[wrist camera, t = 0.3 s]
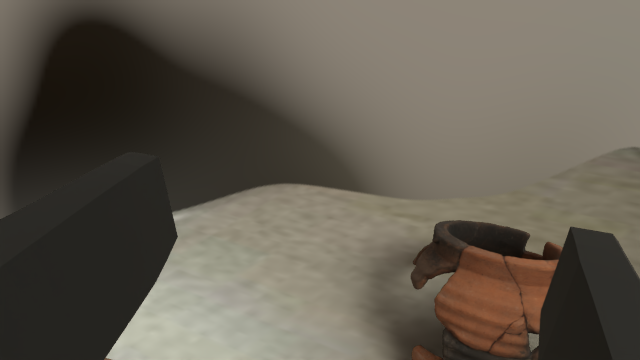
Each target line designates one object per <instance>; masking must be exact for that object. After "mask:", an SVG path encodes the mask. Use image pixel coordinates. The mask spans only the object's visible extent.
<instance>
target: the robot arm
mask: <svg viewBox="0 0 640 360" xmlns="http://www.w3.org/2000/svg"><path fill="white" fill-rule="evenodd" d="M177 237H178V236H177V232H176V227H175V223H174V219H173V215H172V210H171V206H170V202H169V198H168V193H167V189H166V185H165V181H164V176H163V172H162V168H161V164H160V160H159V157H158V156H152V155H146V154H140V153H134V152H128V153H126V154H124V155H122V156H120V157H117V158H115V159H113V160H111V161H110V162H107V163H105V164H104V165H102V166H100V167H98V168H96V169H94V170H92V171H90V172H89V173H87V174H85V175H83V176H81V177H79V178H78V179H76V180H74V181H72V182H70V183H68V184H67V185H65V186H63V187H61V188H59V189H57V190H55V191H53V192H52V193H50V194H48V195H46V196H45V197H42V198H41V199H39V200H37V201H35V202H33V203H31V204H29V205H27V206H26V207H24V208H22V209H20V210H18V211H16V212H14V213H12V214H10V215H8V216H6V217H4V218H2V219H0V360H104V359H105V358H106V356H107V355H108V353H109V352H110V350H111V349H112V347H113V346H114V344H115V343H116V341H117V340H118V338H119V337H120V335H121V334H122V332H123V331H124V329H125V328H126V326H127V325H128V323H129V322H130V321H131V319H132V318H133V316H134V315H135V313H136V312H137V310H138V308H139V307H140V305H141V304H142V302H143V301H144V299H145V298H146V296H147V295H148V293H149V292H150V290H151V289H152V287H153V286H154V284H155V282H156V281H157V279H158V277H159V275H160V273H161V271H162V269H163V267H164V265H165V263H166V261H167V259H168V257H169V254H170V252H171V250H172V248H173V246H174V244H175V241H176V239H177ZM538 360H640V278H639V277H638V275H637V273H636V272H635V270H634V268H633V267H632V265H631V263H630V261H629V260H628V258H627V256H626V254H625V253H624V251H623V249H622V247H621V246H620V244H619V242H618V241H617V239H616V238H615V236H614V235H613V234H611V233H605V232H599V231H593V230H587V229H581V228H575V227H570V230H569V232H568V235H567V238H566V241H565V244H564V246H563V249H562V252H561V255H560V258H559V261H558V263H557V266H556V269H555V272H554V275H553V277H552V280H551V283H550V286H549V289H548V292H547V294H546V297H545V300H544V303H543V306H542V308H541V313H540V331H539V351H538Z"/></svg>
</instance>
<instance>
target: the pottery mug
mask: <svg viewBox="0 0 640 360" xmlns="http://www.w3.org/2000/svg"><path fill="white" fill-rule="evenodd" d="M529 237H530V234H529V233H527V232H524V231H521V230H517V229H513V228H510V227H504V226H500V225H496V224H491V223H484V222H473V221H461V220H458V221H444V222H439V223H438V224H436V226H435V228H434V235H433V242H432V243H431V244H429V245H427V246H425V247H424V248H423V249H422V250H421V251H420V252H419V253H418V255H417V257H416V258H415V259H414V261H413V264H414V265H416V267H415V269H414V270H413V272H412V273H411V280H412V283H413V286H414V288H415V289H421V288H422V287H423V286H424V285H425V284H426V282H427V281H428V279H432V278H434V277H435V276H438V275H441V274H444V273H450V272H455V273H454V274H453V275H452V276H451V277H450V278H449V280H448V282H447V283H446V284H445V285H444V286H443V288H442V289H441V291H440V292H439V293H438V295H437V296H436V298H435V313H436V317H437V318H438V319H439V321H440V322H441V323H442V324H443V325H444V326H445V329H444V331H443V357H444V359H443V358H441V357H438V356H435V355H434V354H432V353H431V352H429V351H428V350H426V349H425V348H424V347H422V346H421V345H417V346H415V347H414V348H413V351H412V360H538V351H539V346H538V347H537V348H535V349H534V350H533V351H532V352H531V351H530V348H529V339H528V338H529V335H528V333H533V334H539V331H540V313H541V308H542V306H543V303H544V300H545V297H546V294H547V292H548V289H549V286H550V283H551V280H552V277H553V275H554V272H555V269H556V266H557V263H558V261H559V258H560V255H561V252H562V249H563V248H562V247H560V246H558V245H556V244H553V243H551V242H547V243H546V244H545V246H544V251H543V256H541V255H539V254H536V253H532V252H529V251H526V250H525V246H526V243H527V241H528V239H529Z"/></svg>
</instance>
